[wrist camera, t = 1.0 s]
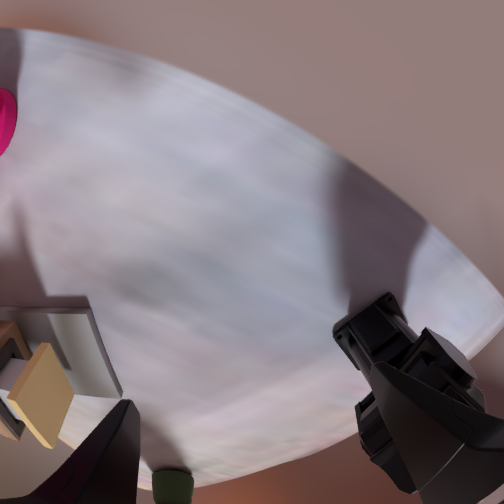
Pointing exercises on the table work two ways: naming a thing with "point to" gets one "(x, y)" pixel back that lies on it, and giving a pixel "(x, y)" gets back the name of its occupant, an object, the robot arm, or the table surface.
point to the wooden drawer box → (57, 351)
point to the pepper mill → (6, 118)
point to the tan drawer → (37, 393)
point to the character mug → (172, 487)
